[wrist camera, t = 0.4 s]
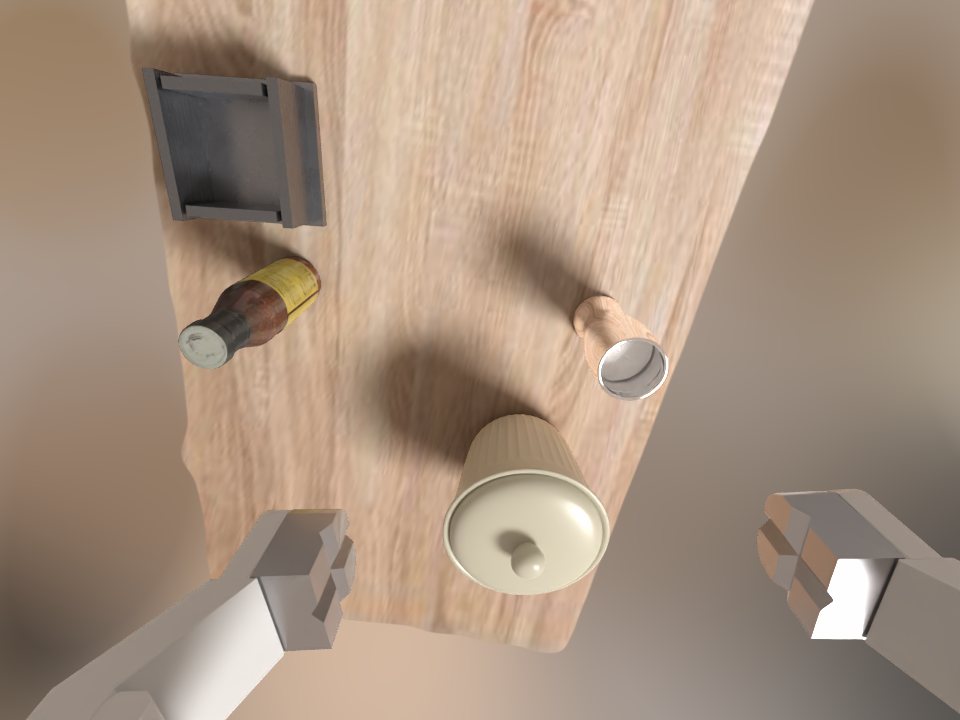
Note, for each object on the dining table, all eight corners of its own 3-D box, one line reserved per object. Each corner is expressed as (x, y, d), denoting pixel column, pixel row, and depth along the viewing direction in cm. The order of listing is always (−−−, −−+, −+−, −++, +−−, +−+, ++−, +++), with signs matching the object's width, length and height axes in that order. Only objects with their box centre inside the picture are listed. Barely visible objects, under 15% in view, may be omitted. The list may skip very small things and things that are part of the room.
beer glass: (557, 317, 55) (579, 368, 42) (602, 279, 53) (641, 320, 39) (592, 355, 57) (624, 415, 43) (637, 319, 55) (685, 371, 41)
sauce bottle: (274, 249, 53) (159, 294, 34) (326, 263, 53) (241, 314, 35) (270, 301, 55) (162, 368, 37) (320, 313, 56) (238, 386, 38)
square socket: (179, 74, 46) (129, 60, 39) (316, 84, 46) (287, 71, 39) (205, 216, 51) (164, 224, 45) (326, 225, 51) (303, 234, 45)
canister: (457, 387, 60) (441, 494, 40) (591, 397, 60) (639, 508, 40) (451, 493, 67) (434, 627, 48) (570, 502, 67) (602, 639, 48)
